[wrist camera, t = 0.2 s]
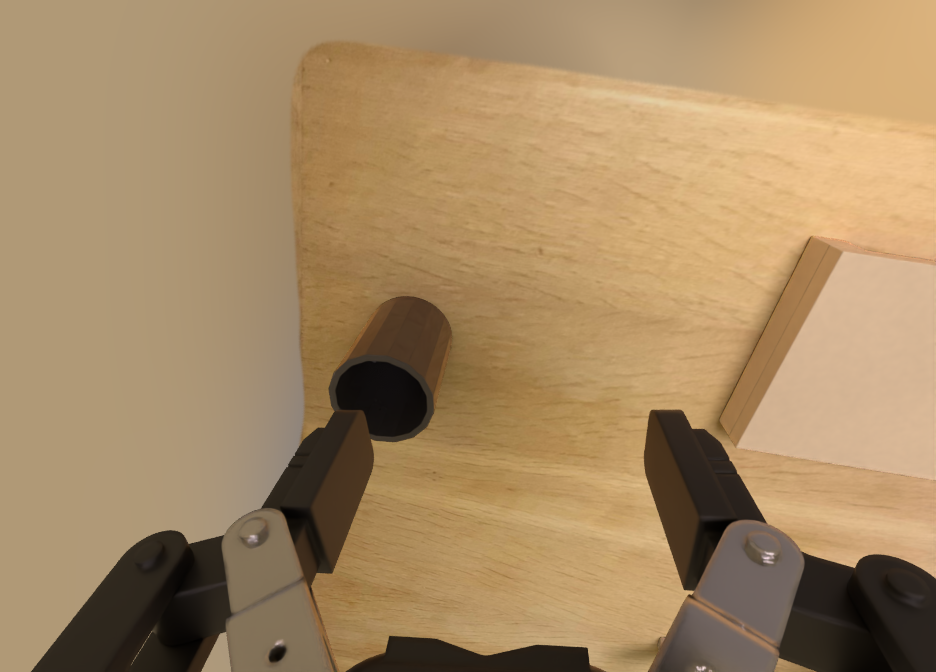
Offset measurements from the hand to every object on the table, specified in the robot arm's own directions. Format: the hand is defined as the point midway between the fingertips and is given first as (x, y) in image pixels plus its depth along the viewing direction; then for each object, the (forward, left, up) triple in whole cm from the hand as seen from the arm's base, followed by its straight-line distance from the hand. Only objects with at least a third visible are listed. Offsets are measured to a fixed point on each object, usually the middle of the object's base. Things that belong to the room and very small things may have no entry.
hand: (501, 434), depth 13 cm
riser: (+23, +13, -18) cm, 32 cm away
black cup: (0, -10, -18) cm, 21 cm away
